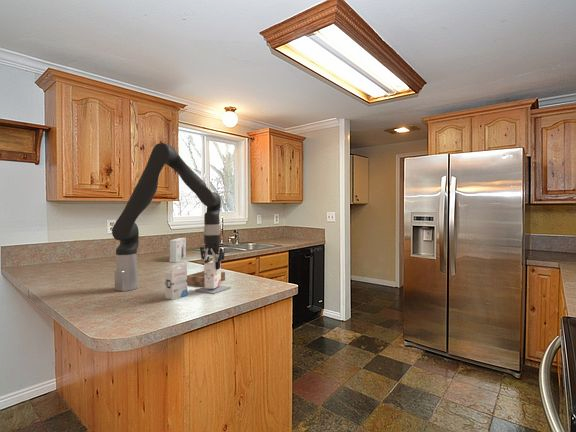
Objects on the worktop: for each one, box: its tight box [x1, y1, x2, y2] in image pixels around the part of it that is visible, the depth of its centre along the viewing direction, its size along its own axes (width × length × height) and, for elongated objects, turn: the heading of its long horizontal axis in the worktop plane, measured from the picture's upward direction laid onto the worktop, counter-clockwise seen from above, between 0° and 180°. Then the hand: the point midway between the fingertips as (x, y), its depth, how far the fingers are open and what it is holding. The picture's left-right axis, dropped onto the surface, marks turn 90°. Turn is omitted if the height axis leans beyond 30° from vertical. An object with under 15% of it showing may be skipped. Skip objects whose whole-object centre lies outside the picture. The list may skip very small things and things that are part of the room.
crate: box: [187, 270, 226, 288], centre depth 171 cm, size 12×16×4 cm
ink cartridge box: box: [203, 256, 222, 289], centre depth 155 cm, size 9×5×15 cm, turn 168°
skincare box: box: [169, 237, 187, 263], centre depth 243 cm, size 21×6×16 cm, turn 179°
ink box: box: [164, 262, 189, 301], centre depth 144 cm, size 9×5×15 cm, turn 148°
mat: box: [194, 284, 232, 295], centre depth 156 cm, size 12×12×1 cm
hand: (212, 268), depth 155 cm, fingers closed on ink cartridge box, 6 cm apart
